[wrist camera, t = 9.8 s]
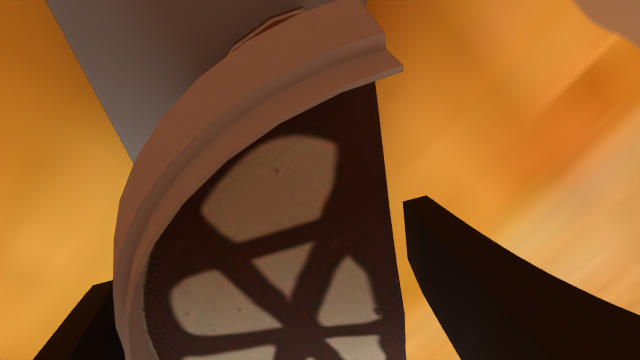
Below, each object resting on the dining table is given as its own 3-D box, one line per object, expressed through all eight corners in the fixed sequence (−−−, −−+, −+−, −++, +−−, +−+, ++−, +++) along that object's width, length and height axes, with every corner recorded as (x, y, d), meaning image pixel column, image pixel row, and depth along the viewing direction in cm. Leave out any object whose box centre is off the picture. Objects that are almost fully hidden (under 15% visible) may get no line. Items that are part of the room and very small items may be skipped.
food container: (103, 1, 13) (-141, 153, 4) (292, -43, 13) (400, 20, 5) (226, 267, 20) (222, 520, 11) (347, 234, 20) (429, 458, 12)
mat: (199, 278, 20) (198, 284, 20) (38, -25, 12) (33, -23, 12) (388, 227, 21) (391, 232, 20) (351, -96, 13) (354, -96, 12)
